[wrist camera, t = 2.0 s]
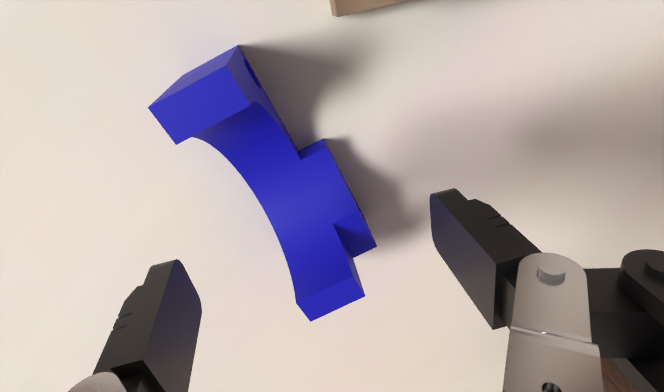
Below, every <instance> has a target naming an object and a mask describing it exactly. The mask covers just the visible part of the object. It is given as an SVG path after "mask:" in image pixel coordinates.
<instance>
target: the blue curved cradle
mask: <svg viewBox="0 0 664 392" xmlns="http://www.w3.org/2000/svg"><path fill="white" fill-rule="evenodd" d="M148 108H149V110H150V111H151V112H152V114H153V115H154V116H155V118H156V119H157V120H158V122H159V123H160V124H161V126H162V127H163V128H164V129H165V131H166V132H167V133H168V135H169V136H170V137H171V139H172V140H173V141H174V143H175V144H176V145H177V144H179V143H181V142H183V141H184V140H186V139H188V138H190V137H195V138H199V139H201V140H203V141H205V142H207V143H209V144H210V145H212V146H213V147H214V148H216V149H217V150H218V151H219V152H220V153H222V154H223V155H224V156H225V157H226V158H227V159H228V160H229V161H230V162H231V164H232V165H233V166H234V167H235V168H236V169H237V171H238V172H239V173H240V174H241V176H242V177H243V178H244V180H245V181H246V182H247V184H248V185H249V187H250V188H251V189H252V191H253V193H254V194H255V196H256V197H257V199H258V201H259V202H260V204H261V206H262V207H263V209H264V211H265V213H266V215H267V216H268V218H269V220H270V222H271V224H272V226H273V228H274V231H275V233H276V235H277V237H278V240H279V242H280V244H281V247H282V249H283V252H284V255H285V258H286V261H287V264H288V267H289V270H290V274H291V277H292V281H293V286H294V291H295V298H296V303H297V305H298V306H299V307H300V309H301V310H302V311H303V312H304V314H305V315H306V316H307V318H308V319H309V320H310V322H311V321H313V320H315V319H317V318H319V317H322V316H324V315H326V314H328V313H330V312H332V311H334V310H337V309H339V308H341V307H343V306H345V305H347V304H349V303H352V302H354V301H356V300H358V299H360V298H362V297H364V296H365V294H364V291H363V288H362V285H361V282H360V279H359V276H358V272H357V269H356V266H355V263H354V260H353V258H354V257H356V256H358V255H360V254H362V253H364V252H367V251H369V250H371V249H373V248H375V247H377V245H376V243H375V240H374V238H373V236H372V234H371V231H370V229H369V227H368V225H367V222H366V220H365V218H364V216H363V214H362V212H361V210H360V208H359V206H358V205H357V203H356V201H355V199H354V197H353V195H352V193H351V191H350V189H349V187H348V185H347V183H346V181H345V179H344V178H343V176H342V174H341V172H340V170H339V168H338V166H337V164H336V162H335V160H334V158H333V156H332V154H331V153H330V151H329V149H328V147H327V145H326V143H325V141H324V139H321V140H319V141H317V142H315V143H313V144H311V145H310V146H308V147H306V148H304V149H302V150H300V151H298V149H297V147H296V146H295V144H294V142H293V140H292V138H291V137H290V135H289V133H288V131H287V130H286V128H285V126H284V124H283V123H282V121H281V119H280V117H279V116H278V114H277V112H276V110H275V109H274V107H273V105H272V103H271V102H270V100H269V98H268V96H267V95H266V93H265V91H264V89H263V88H262V86H261V84H260V82H259V81H258V79H257V77H256V75H255V74H254V72H253V70H252V68H251V67H250V65H249V63H248V61H247V60H246V58H245V56H244V54H243V52H242V51H241V49H240V47H239V45H237V46H235V47H234V48H232V49H230V50H228V51H226V52H224V53H223V54H221V55H219V56H217V57H215V58H213V59H212V60H210V61H208V62H206V63H204V64H203V65H201V66H199V67H197V68H195V69H193V70H192V71H190V72H188V73H186V74H184V75H183V76H181V77H180V78H179V79H178V80H177V81H176V82H175V83H174V84H173V85H172V86H171V87H170V88H169V89H167V90H166V91H165V92H164V93H163V94H162V95H161V96H160V97H159V98H158V99H157V100H156V101H154V102H153V103H152V104H151V105H150V106H149V107H148Z"/></svg>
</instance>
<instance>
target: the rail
mask: <svg viewBox="0 0 664 392" xmlns="http://www.w3.org/2000/svg"><path fill="white" fill-rule="evenodd" d="M404 1H408V0H330V4H331V10H332V15H333V16H337V17H339V16H344V15H348V14H352V13H357V12H361V11H365V10H369V9H374V8H378V7H382V6H387V5H391V4H395V3H400V2H404Z"/></svg>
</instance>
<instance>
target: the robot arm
mask: <svg viewBox="0 0 664 392" xmlns="http://www.w3.org/2000/svg"><path fill="white" fill-rule="evenodd" d="M430 213H431V228H432V237H433V241H434V244H435V247H436V249H437V251H438V252H439V254H440V255H441V257H442V258H443V260H444V261H445V262H446V264H447V265H448V267H449V268H450V270H451V271H452V272H453V274H454V275H455V277H456V278H457V280H458V281H459V282H460V284H461V285H462V287H463V288H464V290H465V291H466V292H467V294H468V295H469V297H470V298H471V300H472V301H473V302H474V304H475V305H476V307H477V308H478V310H479V311H480V312H481V314H482V315H483V317H484V318H485V319H486V321H487V322H488V324H489V325H490V327H491V328H492V329H493V330H494V329H498V328H501V327H505V326H507V327H508V328H509V329H510V335H509V343H508V351H507V359H506V367H505V375H504V383H503V392H603V381H602V371H601V361H600V358H610V359H611V360H612V361H613V362H614V363H615V364H616V365H617V367H618V368H619V369H620V370H621V371H622V372H623V373H624V374H625V376H626V377H627V378H628V379H629V380H630V381H631V382H632V383H633V385H634V386H635V387H636V388H637V389H638V390H639V391H640V392H664V251H658V250H647V249H646V250H636V251H632V252H630V253H628V254H626V255H625V256H624V258H623V260H622V263H621V267H620V268H600V269H582V267H581V266H580V265H578V264H577V263H576V262H574V261H573V260H571V259H569V258H567V257H564V256H562V255H558V254H553V253H542V252H541V251H540V250H539V249H538V248H537V247H536V246H534V245H533V244H532V243H531V242H530V241H529V240H528V239H527V238H526V237H525V236H523V235H522V234H521V233H520V232H519V231H518V230H517V229H516V228H515V227H513V226H512V225H510V224H509V222H508V221H507V220H506V219H505V218H504V217H501V215H500V214H499V213H498V212H497V211H496V210H495V209H494V208H492V207H491V206H490V205H488V204H486V203H483V202H481V201H479V200H476V199H473V200H469V201H468V200H467V199H466V198H465V197H464V196H463V195H462V194H461V193H460V192H459V191H458V190H457V189H455V188H453V189H449V190H445V191H441V192H437V193H433V194H431V195H430ZM201 314H202V308H201V302H200V298H199V295H198V293H197V291H196V289H195V287H194V286H193V284H192V282H191V280H190V278H189V276H188V274H187V272H186V270H185V268H184V266H183V264H182V263H181V262H180V261H179V260H177V259H176V260H172V261H169V262H165V263H161V264H157V265H153V266H151V267H150V269H149V272H148V274H147V277H146V279H145V282H144V284H143V285H142V286H138V287H136V289H135V290H134V291H133V292H132V293H131V294H130V295H129V297H128V298H127V299H126V300H125V301H124V304H123V306H122V308H121V311H120V313H119V315H118V316H119V318H117V320H116V322H115V324H114V326H113V331H111V333H110V336H109V338H108V340H107V342H106V345H105V347H104V349H103V352H102V354H101V356H100V358H99V361H98V363H97V365H96V368H95V370H94V372H93V374H92V376H89V377H87V378H86V379H84V380H82V381H81V382H79V383H78V384H76V385H75V386H74V387H73V388H71V389H70V390H69V391H68V392H188V388H189V382H190V376H191V371H192V365H193V359H194V354H195V348H196V343H197V337H198V331H199V326H200V320H201Z"/></svg>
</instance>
